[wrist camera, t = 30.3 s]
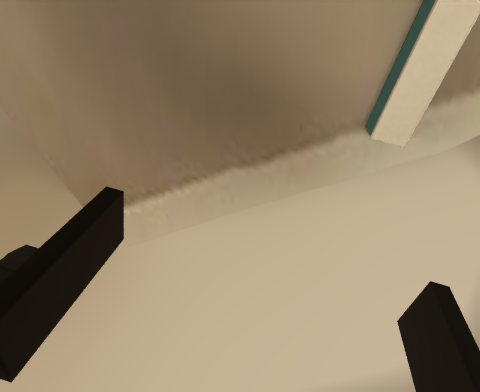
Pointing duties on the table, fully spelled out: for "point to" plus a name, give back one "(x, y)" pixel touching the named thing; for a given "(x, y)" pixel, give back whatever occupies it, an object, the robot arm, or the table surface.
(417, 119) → the long rectangular block
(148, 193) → the table surface
